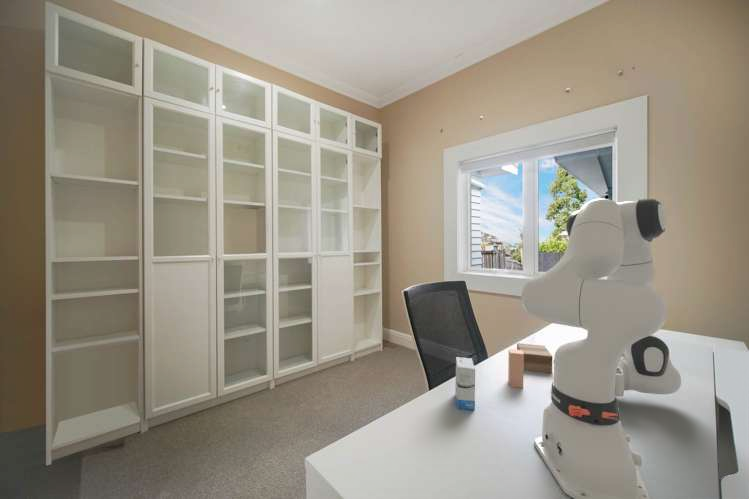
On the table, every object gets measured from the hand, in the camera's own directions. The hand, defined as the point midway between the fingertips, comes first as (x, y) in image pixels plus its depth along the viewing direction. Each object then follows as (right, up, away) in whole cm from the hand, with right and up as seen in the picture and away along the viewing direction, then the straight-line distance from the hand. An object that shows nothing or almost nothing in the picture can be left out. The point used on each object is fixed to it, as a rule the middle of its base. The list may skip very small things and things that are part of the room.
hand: (558, 367), depth 97 cm
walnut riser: (+3, -7, +20) cm, 21 cm away
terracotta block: (-12, -7, +4) cm, 14 cm away
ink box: (-32, -7, -8) cm, 34 cm away
